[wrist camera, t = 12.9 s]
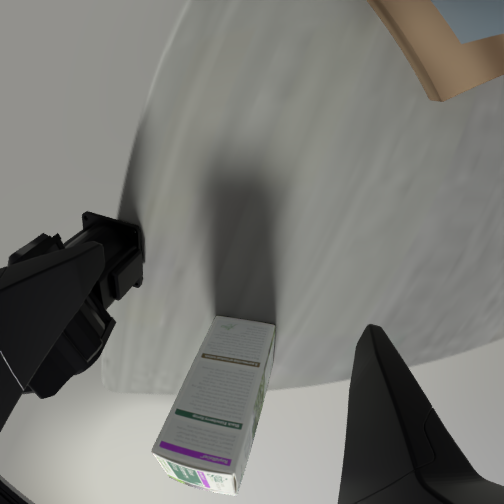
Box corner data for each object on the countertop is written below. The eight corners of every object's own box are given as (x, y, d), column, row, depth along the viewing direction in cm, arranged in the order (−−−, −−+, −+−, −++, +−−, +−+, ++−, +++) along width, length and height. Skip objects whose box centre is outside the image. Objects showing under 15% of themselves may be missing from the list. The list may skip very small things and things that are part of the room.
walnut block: (427, 99, 16) (442, 101, 13) (342, -26, 13) (343, -43, 10) (525, 57, 11) (547, 56, 9) (451, -60, 8) (464, -75, 6)
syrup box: (214, 313, 28) (143, 451, 16) (278, 323, 27) (233, 478, 15) (219, 354, 31) (164, 478, 19) (276, 364, 30) (237, 499, 17)
